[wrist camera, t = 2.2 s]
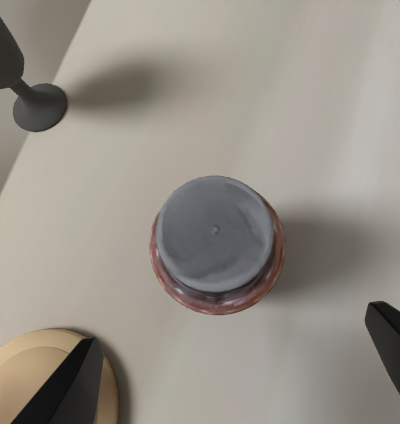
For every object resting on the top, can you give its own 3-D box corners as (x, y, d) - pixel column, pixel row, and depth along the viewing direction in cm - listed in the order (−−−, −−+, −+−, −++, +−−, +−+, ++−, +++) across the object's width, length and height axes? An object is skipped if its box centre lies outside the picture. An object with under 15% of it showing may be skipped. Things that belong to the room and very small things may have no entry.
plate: (146, 442, 17) (141, 452, 16) (2, 541, 16) (-13, 559, 15) (80, 300, 20) (72, 301, 19) (-47, 380, 19) (-63, 385, 18)
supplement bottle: (216, 205, 21) (212, 116, 10) (277, 258, 20) (349, 223, 9) (161, 262, 20) (91, 232, 9) (221, 322, 19) (220, 371, 8)
